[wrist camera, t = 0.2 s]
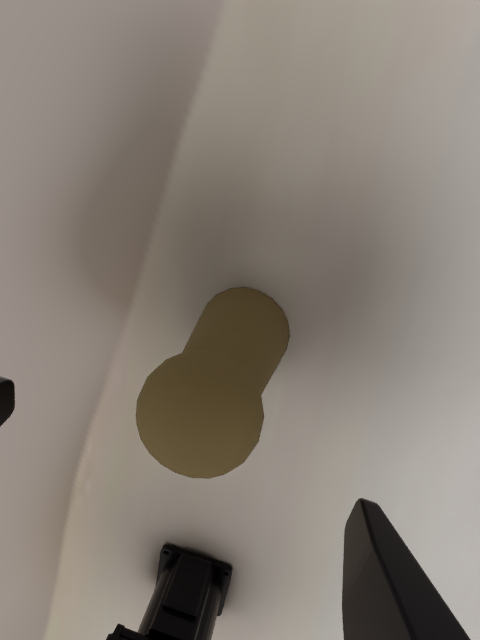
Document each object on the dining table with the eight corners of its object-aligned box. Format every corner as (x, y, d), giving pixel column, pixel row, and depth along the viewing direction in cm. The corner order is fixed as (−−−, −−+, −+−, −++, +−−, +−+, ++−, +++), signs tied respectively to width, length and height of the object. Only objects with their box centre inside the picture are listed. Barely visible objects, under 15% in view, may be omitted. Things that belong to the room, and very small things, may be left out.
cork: (187, 299, 23) (85, 381, 13) (275, 276, 21) (239, 350, 11) (215, 379, 25) (144, 509, 14) (299, 364, 23) (287, 499, 13)
